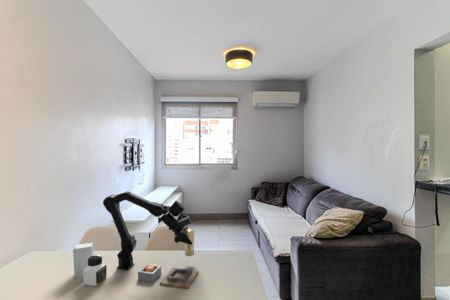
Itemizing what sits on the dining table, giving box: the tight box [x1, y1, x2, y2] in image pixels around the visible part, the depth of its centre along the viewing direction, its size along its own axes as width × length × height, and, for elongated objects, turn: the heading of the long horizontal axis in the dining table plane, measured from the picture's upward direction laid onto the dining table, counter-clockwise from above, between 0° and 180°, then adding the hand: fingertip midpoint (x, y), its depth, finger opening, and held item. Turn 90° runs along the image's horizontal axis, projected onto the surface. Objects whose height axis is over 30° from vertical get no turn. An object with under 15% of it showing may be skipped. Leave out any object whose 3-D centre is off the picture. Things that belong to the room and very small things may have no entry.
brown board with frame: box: [159, 267, 199, 290], centre depth 121 cm, size 14×14×2 cm
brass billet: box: [184, 228, 195, 257], centre depth 135 cm, size 5×5×13 cm
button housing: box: [137, 263, 162, 283], centre depth 122 cm, size 8×8×4 cm
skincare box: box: [72, 242, 94, 279], centre depth 124 cm, size 8×6×15 cm
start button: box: [146, 264, 154, 272], centre depth 122 cm, size 4×4×3 cm
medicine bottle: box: [82, 254, 107, 287], centre depth 118 cm, size 7×7×12 cm
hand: (192, 242), depth 135 cm, fingers closed on brass billet, 5 cm apart
